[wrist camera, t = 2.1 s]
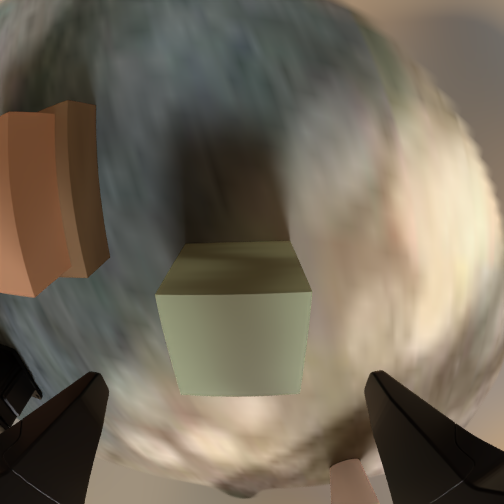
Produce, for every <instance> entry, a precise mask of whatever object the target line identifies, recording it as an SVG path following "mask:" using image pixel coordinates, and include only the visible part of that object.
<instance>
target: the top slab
mask: <svg viewBox="0 0 504 504" xmlns="http://www.w3.org/2000/svg"><path fill="white" fill-rule="evenodd" d="M70 267H72V266H71V262H70V258H69V253H68V249H67V244H66V239H65V234H64V228H63V222H62V216H61V209H60V202H59V194H58V185H57V173H56V158H55V114H51V113H35V112H7V113H5V114H3V115H2V116H0V293H6V294H13V295H20V296H27V297H34V298H35V297H36V296H37V295H38V294H39V293H41V292H42V291H43V290H44V289H45V288H46V287H47V286H49V285H50V284H51V283H52V282H53V281H55V280H56V279H57V278H58V277H59V276H60V275H62V274H63V273H64V272H65V271H67V270H68V269H69V268H70Z"/></svg>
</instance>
